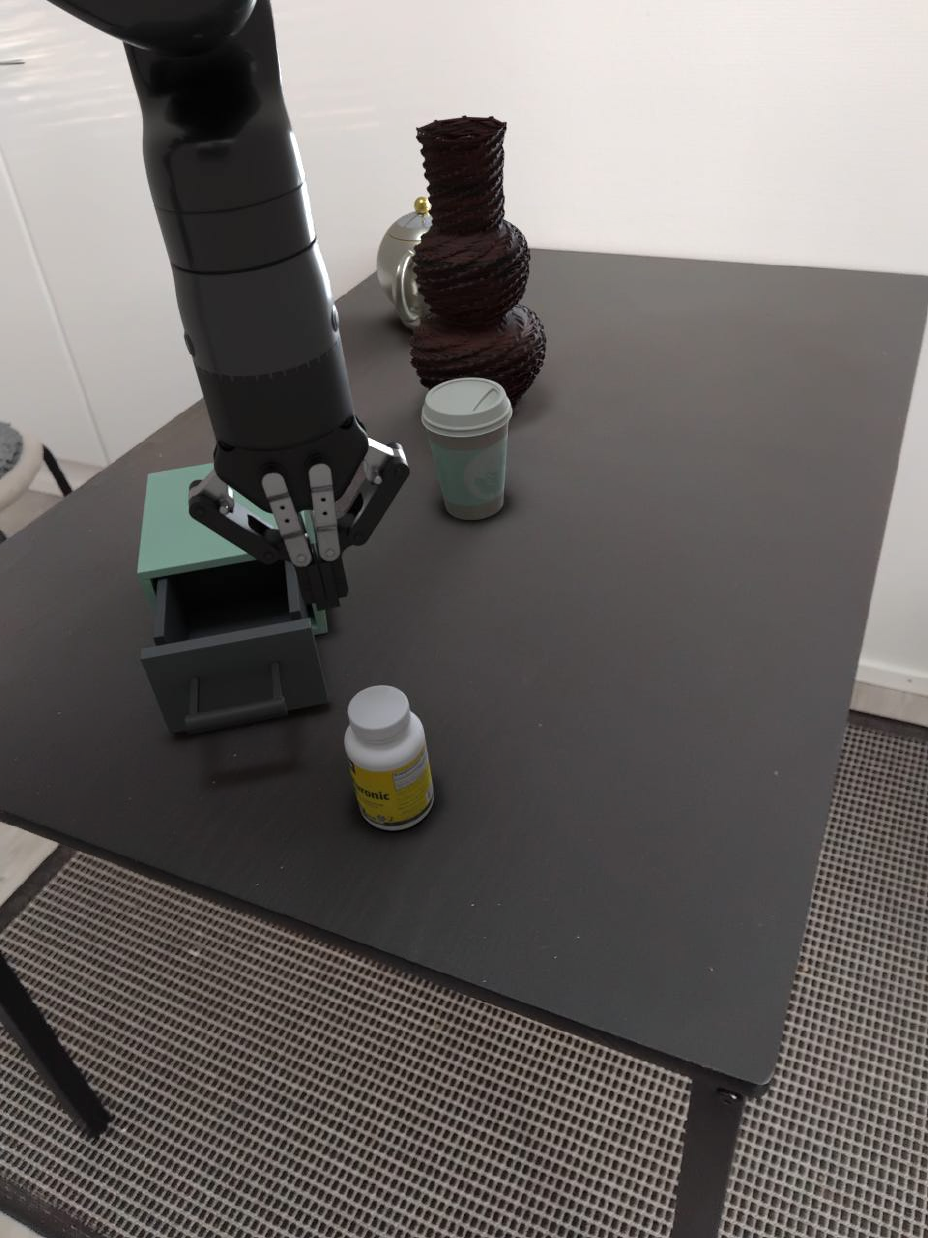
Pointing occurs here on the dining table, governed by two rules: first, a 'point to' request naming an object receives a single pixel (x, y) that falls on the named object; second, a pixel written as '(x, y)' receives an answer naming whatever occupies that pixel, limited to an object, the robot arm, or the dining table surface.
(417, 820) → the supplement bottle
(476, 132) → the vase
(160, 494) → the green drawer cabinet
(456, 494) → the coffee cup
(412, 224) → the teapot
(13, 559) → the dining table surface
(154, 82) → the robot arm
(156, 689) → the grey pull-out drawer
